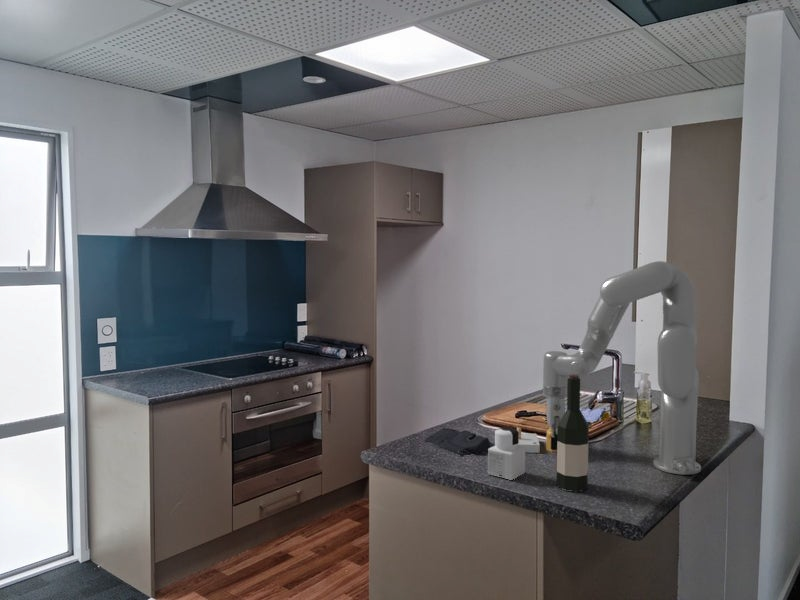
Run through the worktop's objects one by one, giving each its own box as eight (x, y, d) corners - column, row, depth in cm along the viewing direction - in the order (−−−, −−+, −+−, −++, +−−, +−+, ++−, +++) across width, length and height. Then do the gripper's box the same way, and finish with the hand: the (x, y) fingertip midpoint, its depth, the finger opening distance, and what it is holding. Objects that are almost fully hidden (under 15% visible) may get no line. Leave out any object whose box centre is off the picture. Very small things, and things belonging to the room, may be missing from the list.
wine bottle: (582, 480, 171) (584, 372, 168) (592, 492, 162) (595, 378, 160) (552, 480, 170) (553, 372, 168) (561, 492, 162) (562, 378, 160)
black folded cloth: (455, 433, 216) (455, 420, 216) (500, 450, 198) (500, 435, 198) (420, 442, 207) (420, 428, 207) (464, 460, 189) (464, 444, 189)
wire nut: (563, 452, 194) (564, 430, 194) (547, 451, 195) (547, 429, 194) (561, 447, 199) (562, 425, 199) (545, 446, 200) (545, 425, 199)
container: (501, 467, 181) (501, 423, 180) (525, 473, 176) (525, 428, 175) (487, 475, 175) (487, 430, 174) (511, 481, 170) (512, 435, 169)
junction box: (539, 452, 194) (539, 434, 193) (500, 451, 195) (500, 432, 195) (534, 435, 212) (534, 418, 212) (498, 434, 214) (498, 417, 213)
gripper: (571, 397, 186) (570, 454, 188) (563, 385, 204) (562, 437, 205) (546, 397, 187) (545, 453, 189) (540, 384, 205) (539, 436, 206)
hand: (554, 444), depth 197 cm, fingers open, 8 cm apart
